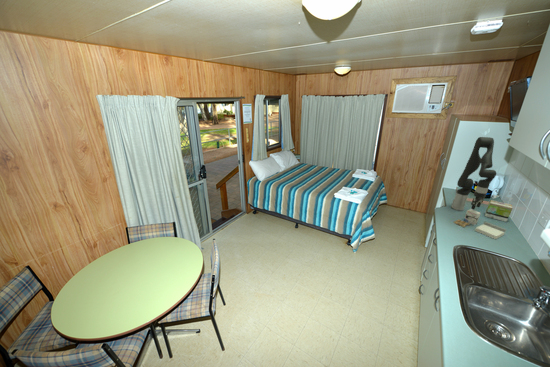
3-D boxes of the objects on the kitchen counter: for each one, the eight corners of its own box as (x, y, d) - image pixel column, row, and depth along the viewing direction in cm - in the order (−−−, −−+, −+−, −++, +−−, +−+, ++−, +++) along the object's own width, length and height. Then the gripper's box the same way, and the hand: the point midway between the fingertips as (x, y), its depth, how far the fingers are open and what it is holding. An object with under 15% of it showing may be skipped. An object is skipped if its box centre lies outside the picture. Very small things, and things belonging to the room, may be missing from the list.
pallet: (453, 223, 199) (454, 221, 198) (458, 220, 202) (459, 219, 201) (463, 227, 192) (464, 225, 191) (468, 225, 195) (469, 223, 194)
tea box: (484, 216, 208) (490, 203, 203) (484, 212, 215) (490, 199, 209) (506, 222, 198) (513, 208, 193) (506, 218, 205) (512, 204, 200)
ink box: (462, 220, 202) (466, 209, 198) (465, 219, 204) (469, 208, 199) (473, 225, 195) (478, 213, 190) (476, 224, 197) (481, 212, 192)
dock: (474, 230, 187) (476, 225, 185) (483, 226, 192) (485, 221, 190) (495, 239, 175) (497, 233, 173) (503, 234, 181) (506, 229, 179)
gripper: (480, 188, 194) (474, 204, 200) (471, 191, 188) (466, 208, 194) (490, 191, 187) (484, 208, 193) (482, 194, 182) (476, 211, 188)
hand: (475, 208), depth 194 cm, fingers open, 8 cm apart
